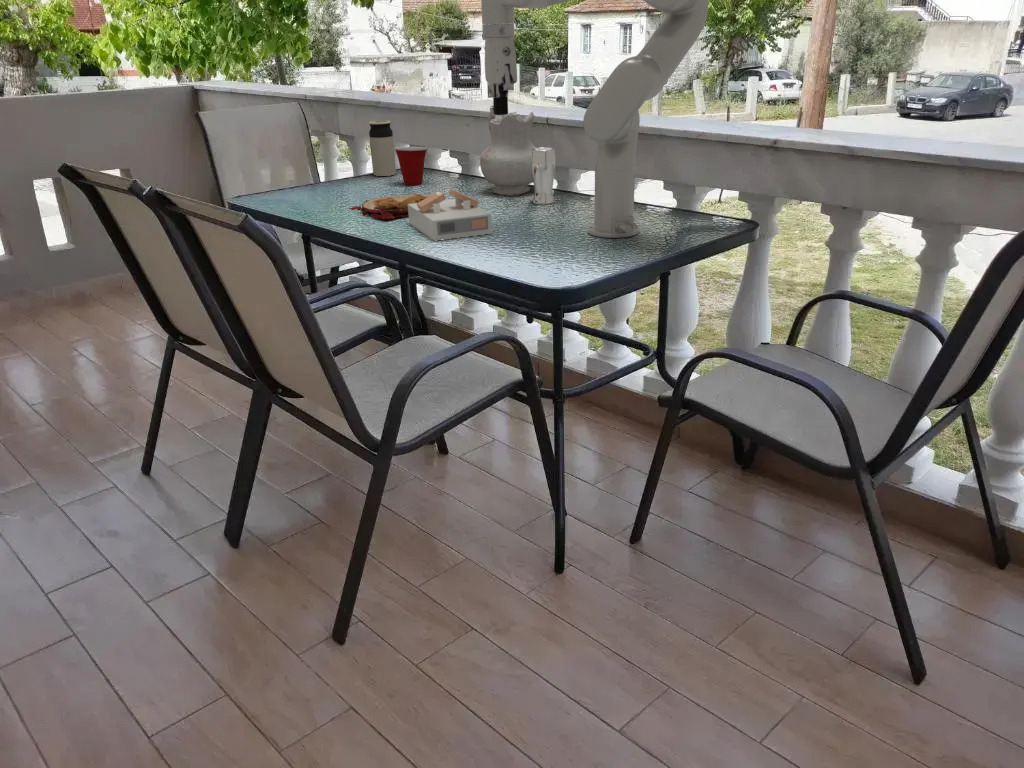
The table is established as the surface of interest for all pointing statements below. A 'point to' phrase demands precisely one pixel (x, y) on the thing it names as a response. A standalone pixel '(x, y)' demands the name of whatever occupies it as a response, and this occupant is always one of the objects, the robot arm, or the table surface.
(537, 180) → the white cylinder
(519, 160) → the ceramic pitcher
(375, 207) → the plate with food
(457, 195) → the rocker
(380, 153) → the travel mug
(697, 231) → the table surface
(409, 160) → the plastic cup
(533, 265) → the table surface
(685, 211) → the table surface
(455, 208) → the switch box
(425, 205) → the rocker
